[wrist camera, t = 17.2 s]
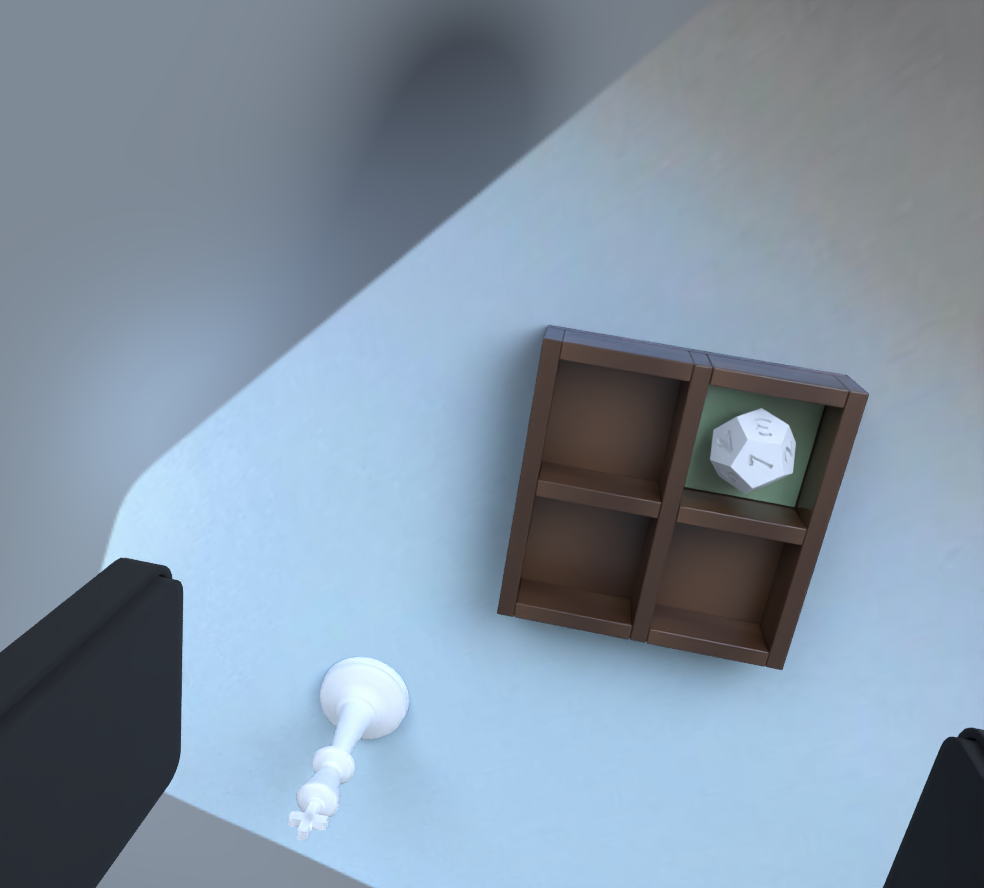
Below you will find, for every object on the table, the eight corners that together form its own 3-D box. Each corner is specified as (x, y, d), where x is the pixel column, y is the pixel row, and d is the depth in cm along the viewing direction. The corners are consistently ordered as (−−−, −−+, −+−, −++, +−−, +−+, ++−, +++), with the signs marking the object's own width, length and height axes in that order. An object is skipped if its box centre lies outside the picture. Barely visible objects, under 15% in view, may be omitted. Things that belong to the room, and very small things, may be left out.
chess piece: (409, 737, 45) (357, 886, 36) (323, 726, 46) (250, 871, 36) (409, 661, 43) (355, 797, 34) (321, 651, 44) (243, 782, 35)
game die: (762, 490, 37) (775, 517, 34) (690, 454, 37) (697, 478, 34) (805, 425, 36) (822, 447, 33) (731, 388, 36) (741, 407, 33)
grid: (504, 582, 41) (496, 613, 38) (548, 324, 37) (543, 337, 34) (769, 634, 40) (782, 670, 37) (848, 375, 36) (869, 393, 33)
